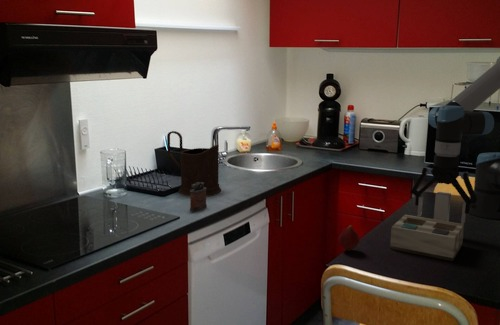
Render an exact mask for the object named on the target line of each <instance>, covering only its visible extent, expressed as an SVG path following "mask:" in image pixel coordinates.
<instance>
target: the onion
mask: <svg viewBox="0 0 500 325" xmlns="http://www.w3.org/2000/svg"><path fill="white" fill-rule="evenodd" d="M338 237H339V238H338V241H339V244H340V245H341V247H342V248H344V249H345V250H346V251H347V252H351V251H352V250H354V249H355V248H356V247H357V246H358V245H359V243H360V237H359V234H358V233H357V231H356V230H355V229H354V228H353V226H352V225H348V226H347V227H346V228H344V229H343V230H342V231H341V233H340V234H339V236H338Z"/></svg>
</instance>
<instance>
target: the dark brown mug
mask: <svg viewBox="0 0 500 325" xmlns="http://www.w3.org/2000/svg"><path fill="white" fill-rule="evenodd" d="M171 134H175V135H177V136H178V138H179V149H180V163H179V162H178V161H177V160H176V159H175V157H174V155H173V154H172V153H171ZM166 141H167V144H166V145H167V155H168V157H169V158H170V159H171V160H172V161H173V163H174V164H175V165H176V167H178V169H179V170H180V176H181V178H180V179H181V180H180V182H181V183H180V186H179V189H178V192H177V193H178V194H180V195H183V196H187V197H190V190H192V189H194V188H192V184H196V183H197V182H199V183H201V182H203V183H204V187H206V188H207V190H206V197H212V196H216V195H219V194H221V193H222V191H223V190H222V188H221V187H220V183H219V144H215V145H213V146H211V147H209V148H208V147H201V148H200V147H196V148H191V149H187V150H184V148H183V136H182V134H181V133H180V132H178V131H175V130H172V131H170V132H168V133H167V136H166Z"/></svg>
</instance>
